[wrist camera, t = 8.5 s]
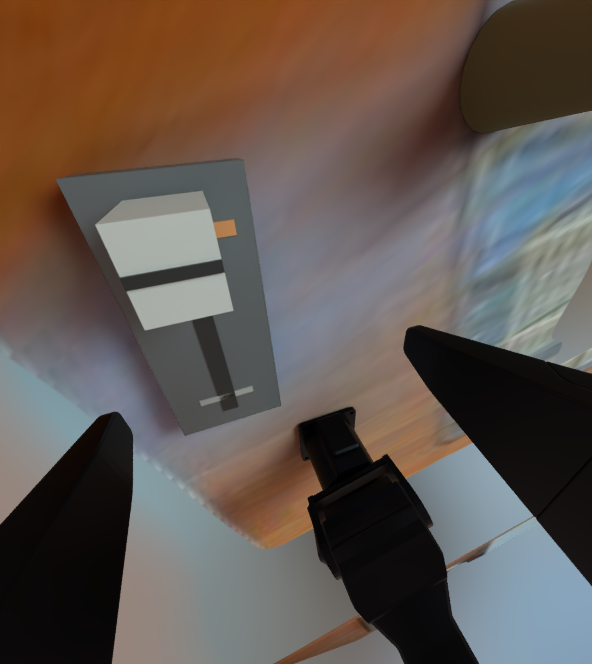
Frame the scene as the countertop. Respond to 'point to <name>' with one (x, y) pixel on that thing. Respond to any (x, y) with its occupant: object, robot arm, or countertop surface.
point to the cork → (529, 65)
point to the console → (204, 333)
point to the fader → (167, 258)
